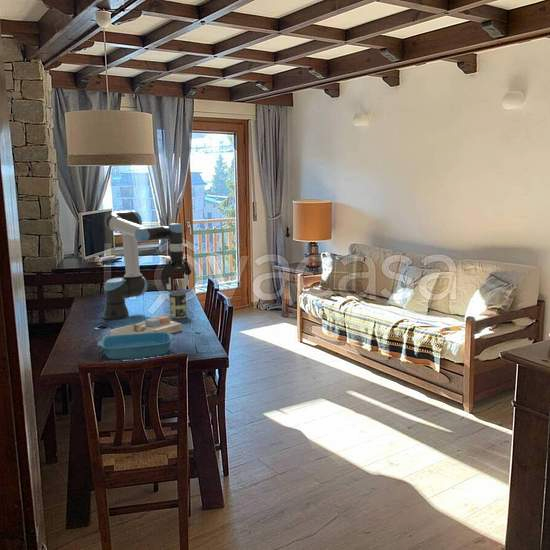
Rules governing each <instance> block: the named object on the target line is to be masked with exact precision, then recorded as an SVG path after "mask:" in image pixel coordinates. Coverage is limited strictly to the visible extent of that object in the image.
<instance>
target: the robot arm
mask: <svg viewBox="0 0 550 550" xmlns="http://www.w3.org/2000/svg"><path fill="white" fill-rule="evenodd" d="M142 219H143V218H142V216H141V215H140V213H139V212H138V211H136V210H133V209H131V210H129V209H128V210H114V211H111V212H109V213H107V215H106V216H105V218H104V225H105V227H106V228H107V229H108V230H110V231H111V232H114V233H115V232H119V234H120V235H121V236H122V244H123V245H122V247H123V256H124V266H125V267H124V268H125V274H124V275H123V277H113V278H110V279H107V280H106V281H105V282H104V288H103V289H104V297H105V298H104V299H105V301H104V302H105V307H104V310H103V315H102V317H103V318H104V319H105V320H121V319H122V320H123V319H125V318H128V317H129V316H130V315H129V313H130V312H129V310H128V307H127V305H126V299H129V298H135V297H136V298H137V297H140V296H144V294H146V293H147V290H148V281H147V279H146V278H145V277H144V276H143V274H142V273H141V272H140V271H141V270H140V261H139V247H138V242H142V243H144V242H151V241H160V240H167V241H169V243H168V244H169V259H170V260H167V259H166V262H165V263H166V264H165V267H164V270H163V273H162V275H161V276H162V278H165V279H164V280H165V285H166V290H169V291H171V290H172V284H171V282H172V281H171V280H172V279H171V275H172V273H174V270H175V269H176V268H180V269H181V271H182V272H183V273H184V274H183V286H186V287H188V286H189V279H190V276H189V275H191V274H192V270H191V267H190V265H189V263H188V259H187V257H184V239H183V236H184V235H183V231H184V230H183V224H182V223H177V222H176V223H175V222H174V223H173V222H172V223H169V225H167V226H166V225H159V226H151V227H150V226H149V227H147V226H144V225H143V220H142Z"/></svg>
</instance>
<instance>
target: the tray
mask: <svg viewBox="0 0 550 550" xmlns="http://www.w3.org/2000/svg"><path fill="white" fill-rule="evenodd" d="M134 324H135V323H132V324H127V325H124V326H120V327H116V328H115V327H114V328H113V329H109V330H108V337H109V336H115V335H126V334H139V333H152V332H154V329H151V330H148V331H144V332H136V331H134Z"/></svg>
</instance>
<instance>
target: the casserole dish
mask: <svg viewBox="0 0 550 550" xmlns="http://www.w3.org/2000/svg"><path fill="white" fill-rule="evenodd" d="M175 338H176V336H175V335H174V334H173V333H170V334H169V333H167V332H152V333H139V334H126V335H115V336H109V335H108V336H106V337H104V338H103V339H101V340H99V341H97V346H98V347H100V348H101V347H102V349H103V352H104V354H105V356H106V357H107V358H108V359H110V360H123V359H124V360H125V359H135V358H137V357H138V358H148V357H155V356H157V357H158V356H163V355H166V354H167V353H168V351H169V350H170V347H171V342H172V341H173V340H175ZM146 356H147V357H146Z"/></svg>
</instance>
